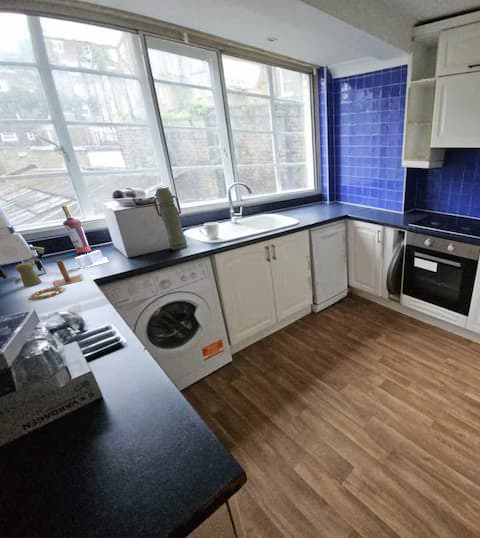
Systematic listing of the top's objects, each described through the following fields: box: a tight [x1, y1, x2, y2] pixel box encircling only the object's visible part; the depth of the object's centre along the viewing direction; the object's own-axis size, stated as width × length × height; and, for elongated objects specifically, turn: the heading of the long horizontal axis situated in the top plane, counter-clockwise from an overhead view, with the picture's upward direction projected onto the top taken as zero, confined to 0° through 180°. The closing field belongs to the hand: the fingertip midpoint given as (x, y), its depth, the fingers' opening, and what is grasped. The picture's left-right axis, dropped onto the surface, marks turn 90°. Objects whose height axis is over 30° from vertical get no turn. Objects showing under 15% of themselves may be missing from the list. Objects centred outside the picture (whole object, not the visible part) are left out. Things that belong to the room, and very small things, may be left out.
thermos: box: [152, 187, 188, 251], centre depth 172 cm, size 9×12×35 cm
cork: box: [14, 262, 43, 288], centre depth 131 cm, size 6×6×11 cm
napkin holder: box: [74, 249, 110, 268], centre depth 156 cm, size 15×11×6 cm
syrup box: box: [21, 244, 47, 277], centre depth 143 cm, size 6×6×14 cm
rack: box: [53, 259, 83, 287], centre depth 133 cm, size 9×9×11 cm
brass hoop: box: [30, 286, 65, 301], centre depth 123 cm, size 10×10×2 cm
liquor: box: [61, 204, 92, 255], centre depth 169 cm, size 7×7×28 cm
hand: (23, 273), depth 116 cm, fingers open, 9 cm apart
